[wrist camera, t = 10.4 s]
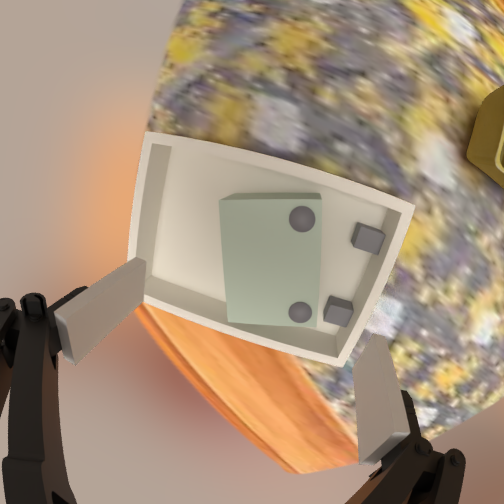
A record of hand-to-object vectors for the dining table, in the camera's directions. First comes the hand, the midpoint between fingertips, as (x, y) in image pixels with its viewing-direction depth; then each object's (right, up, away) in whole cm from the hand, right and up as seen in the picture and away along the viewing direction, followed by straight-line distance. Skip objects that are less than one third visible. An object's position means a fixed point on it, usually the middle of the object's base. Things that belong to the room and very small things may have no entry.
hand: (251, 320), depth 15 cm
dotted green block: (+3, +4, +13) cm, 14 cm away
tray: (+1, +5, +14) cm, 15 cm away
